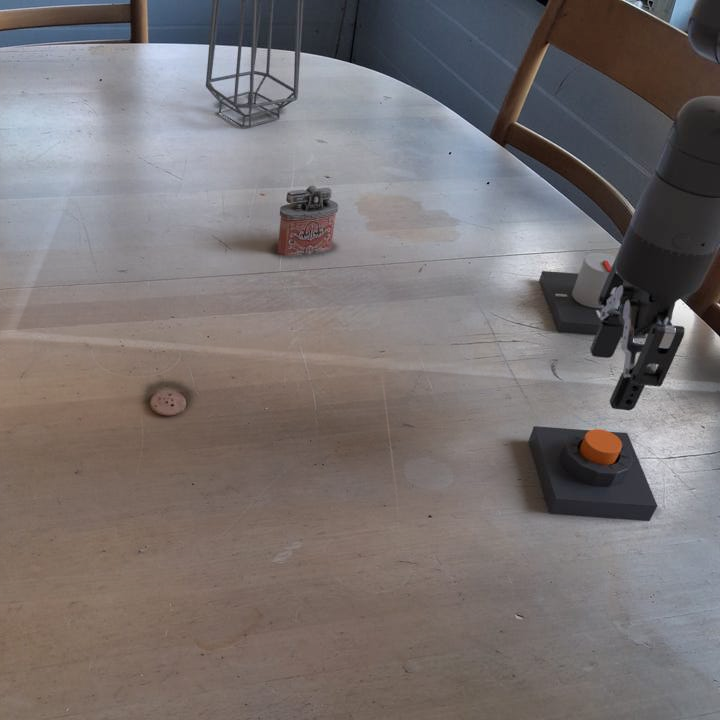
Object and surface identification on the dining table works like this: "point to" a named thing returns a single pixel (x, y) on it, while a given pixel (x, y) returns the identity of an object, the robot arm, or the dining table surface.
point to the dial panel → (568, 304)
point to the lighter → (307, 222)
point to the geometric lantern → (253, 65)
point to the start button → (600, 447)
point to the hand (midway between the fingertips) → (609, 380)
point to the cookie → (168, 403)
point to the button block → (589, 478)
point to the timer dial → (592, 279)
